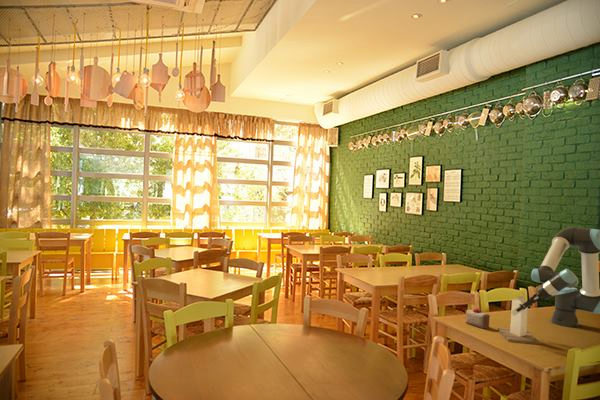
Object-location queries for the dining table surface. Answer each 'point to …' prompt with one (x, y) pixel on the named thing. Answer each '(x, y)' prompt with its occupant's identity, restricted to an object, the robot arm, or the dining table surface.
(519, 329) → the milk
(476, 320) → the food item
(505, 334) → the tan board
